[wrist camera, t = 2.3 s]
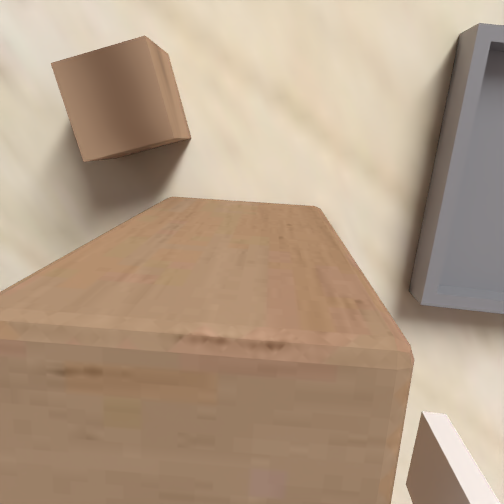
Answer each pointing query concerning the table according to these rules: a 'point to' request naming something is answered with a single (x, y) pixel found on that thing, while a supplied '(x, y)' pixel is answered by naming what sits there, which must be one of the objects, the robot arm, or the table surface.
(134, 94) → the walnut cube
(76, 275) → the wooden block
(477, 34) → the tray
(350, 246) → the table surface
